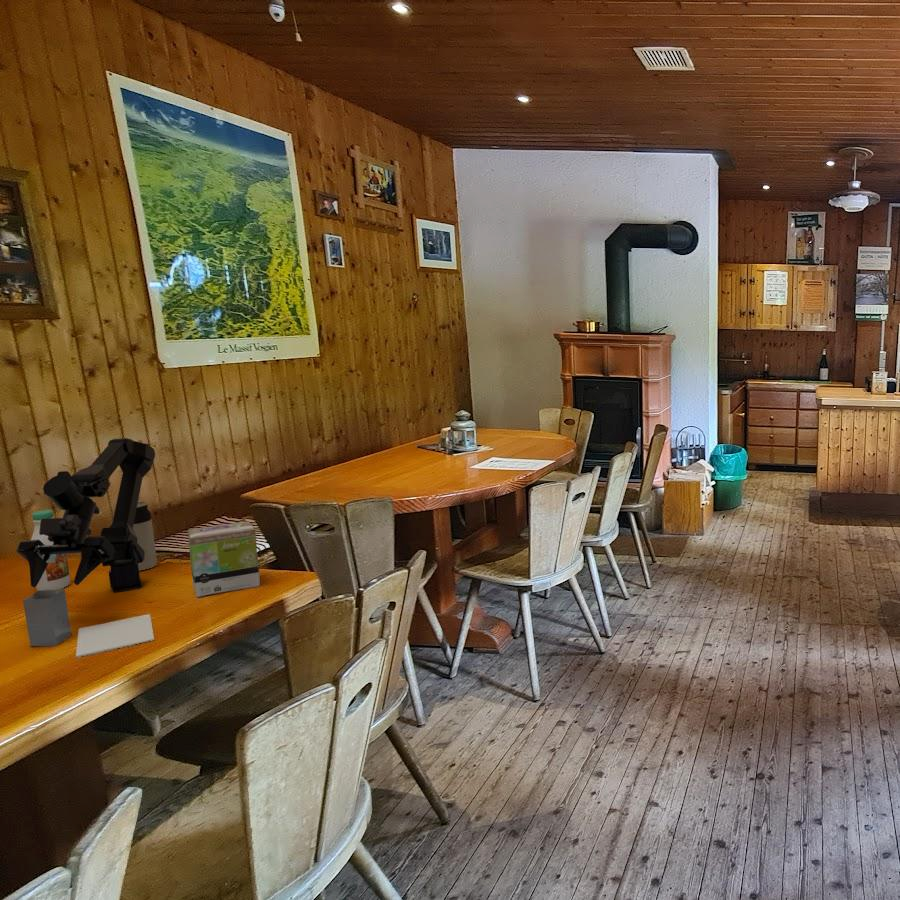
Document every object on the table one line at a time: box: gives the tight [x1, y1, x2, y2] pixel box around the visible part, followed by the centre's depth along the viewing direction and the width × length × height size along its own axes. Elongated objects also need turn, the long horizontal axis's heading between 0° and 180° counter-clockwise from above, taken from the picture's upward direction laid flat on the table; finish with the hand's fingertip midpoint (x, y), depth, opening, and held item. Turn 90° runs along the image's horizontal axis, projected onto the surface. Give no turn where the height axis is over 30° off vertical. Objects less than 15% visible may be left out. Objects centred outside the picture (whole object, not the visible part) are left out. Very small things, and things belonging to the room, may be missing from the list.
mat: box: [75, 613, 155, 659], centre depth 145 cm, size 14×16×1 cm
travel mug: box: [133, 500, 158, 571], centre depth 191 cm, size 8×8×18 cm
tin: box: [22, 588, 72, 647], centre depth 144 cm, size 5×5×10 cm
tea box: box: [187, 520, 261, 598], centre depth 171 cm, size 15×10×15 cm
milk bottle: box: [30, 509, 71, 592], centre depth 179 cm, size 8×8×20 cm
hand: (54, 585), depth 146 cm, fingers open, 9 cm apart
